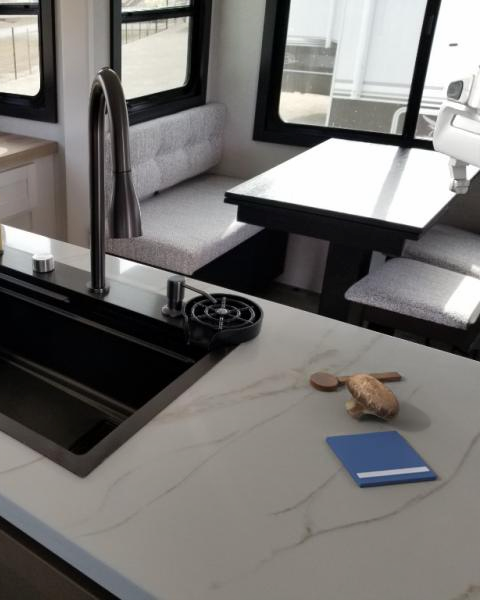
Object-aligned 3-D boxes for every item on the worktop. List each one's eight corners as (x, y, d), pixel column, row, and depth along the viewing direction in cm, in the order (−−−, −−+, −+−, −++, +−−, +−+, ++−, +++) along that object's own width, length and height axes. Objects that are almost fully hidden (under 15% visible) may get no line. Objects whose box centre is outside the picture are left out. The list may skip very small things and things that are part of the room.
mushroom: (334, 406, 87) (364, 370, 86) (325, 394, 95) (352, 361, 93) (384, 443, 86) (415, 407, 85) (371, 427, 94) (399, 394, 92)
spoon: (390, 371, 100) (392, 365, 100) (405, 385, 97) (406, 380, 97) (305, 378, 99) (306, 372, 99) (316, 393, 95) (317, 387, 95)
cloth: (395, 433, 87) (396, 429, 86) (436, 479, 79) (437, 475, 79) (325, 440, 86) (326, 436, 85) (359, 487, 78) (360, 483, 77)
